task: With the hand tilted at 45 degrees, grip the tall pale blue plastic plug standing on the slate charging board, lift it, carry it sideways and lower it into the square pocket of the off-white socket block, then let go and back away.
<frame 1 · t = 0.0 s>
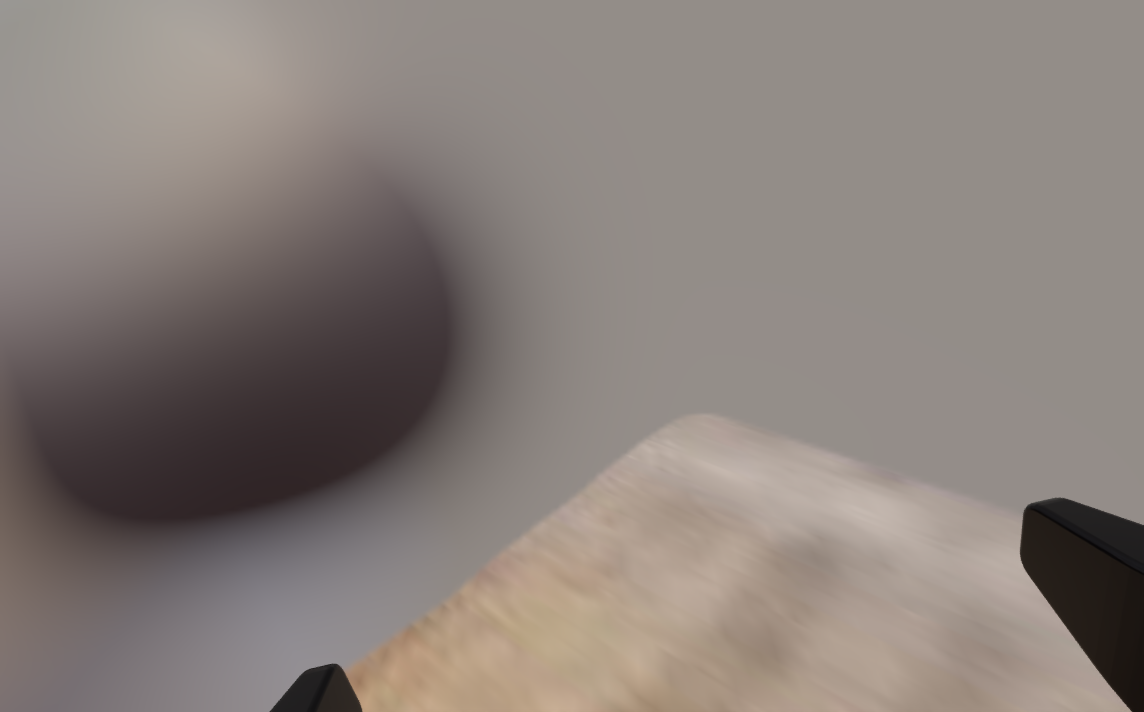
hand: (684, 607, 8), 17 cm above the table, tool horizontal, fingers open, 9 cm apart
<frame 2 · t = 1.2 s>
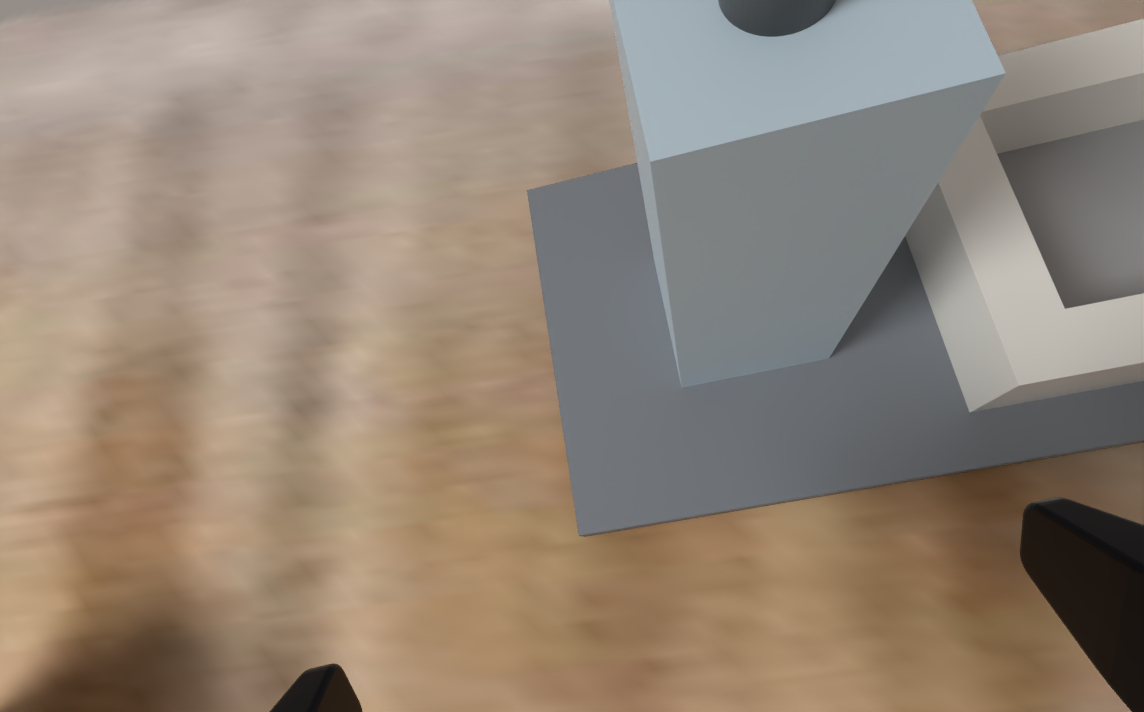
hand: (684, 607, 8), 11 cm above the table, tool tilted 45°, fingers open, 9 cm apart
charging board: (892, 285, 20), on the table
plug: (737, 307, 20), point 1 cm above the table, touching charging board
socket: (1078, 234, 19), resting on charging board
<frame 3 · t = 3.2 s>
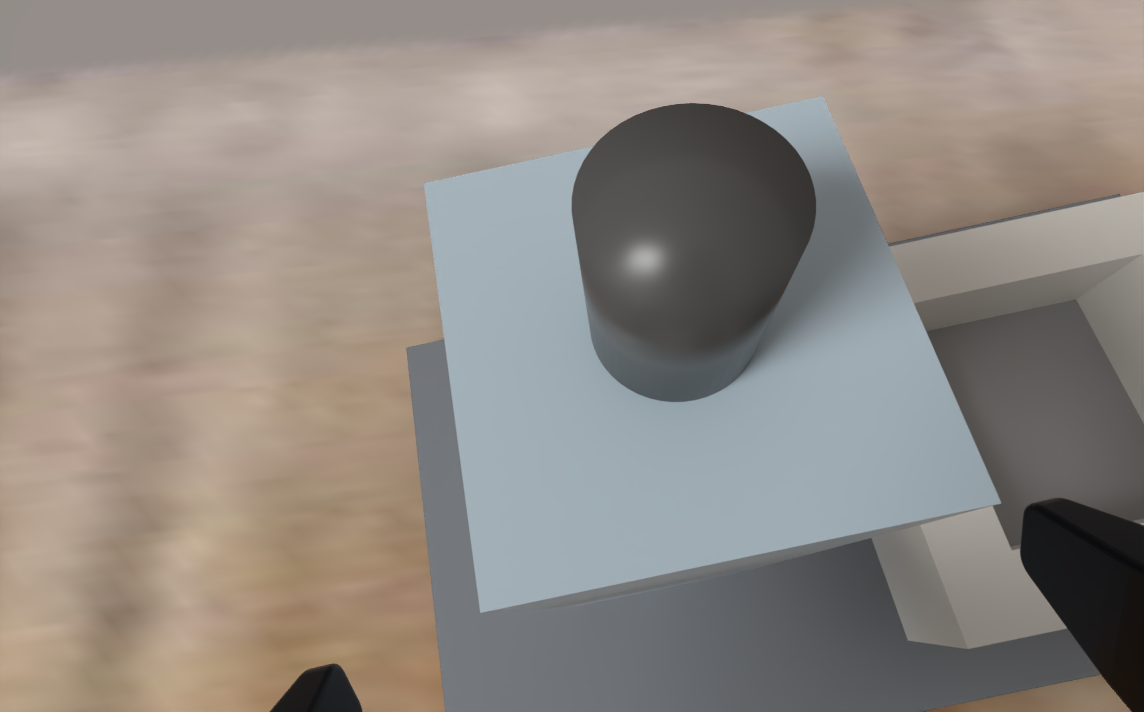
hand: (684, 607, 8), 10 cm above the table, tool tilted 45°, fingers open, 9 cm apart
charging board: (817, 471, 18), on the table
plug: (646, 502, 17), point 1 cm above the table, touching charging board
socket: (1008, 425, 17), resting on charging board
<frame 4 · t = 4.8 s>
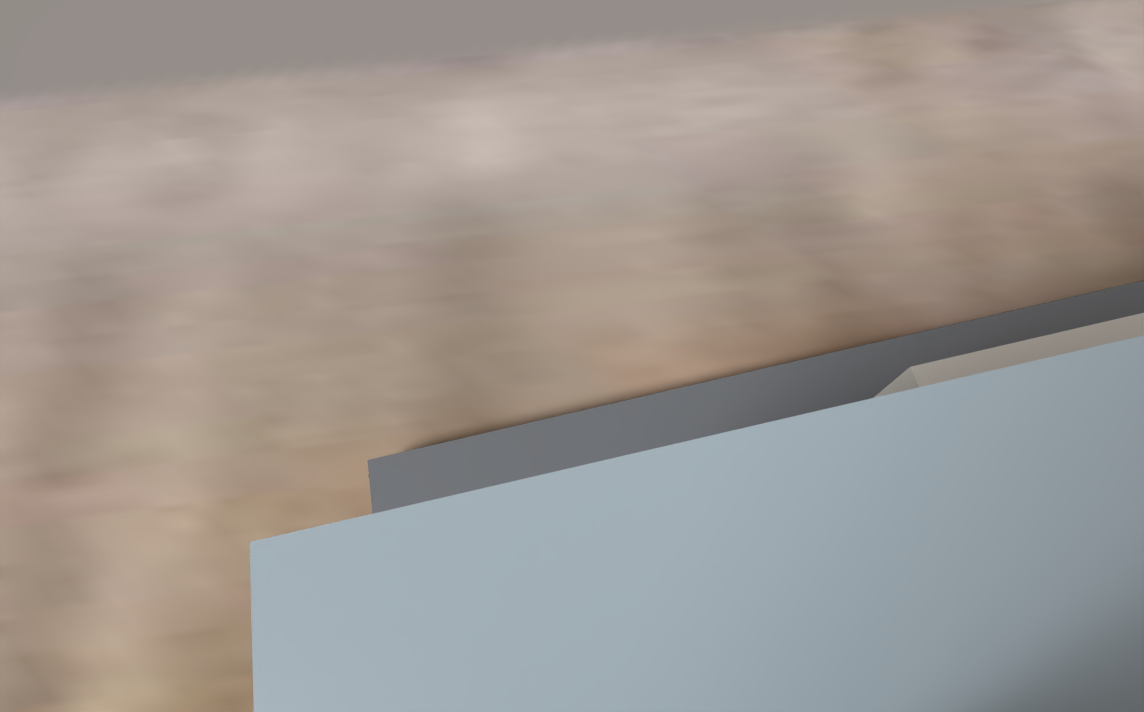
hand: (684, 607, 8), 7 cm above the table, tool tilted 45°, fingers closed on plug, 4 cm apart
charging board: (898, 621, 14), on the table
plug: (681, 676, 13), point 1 cm above the table, touching charging board, gripper
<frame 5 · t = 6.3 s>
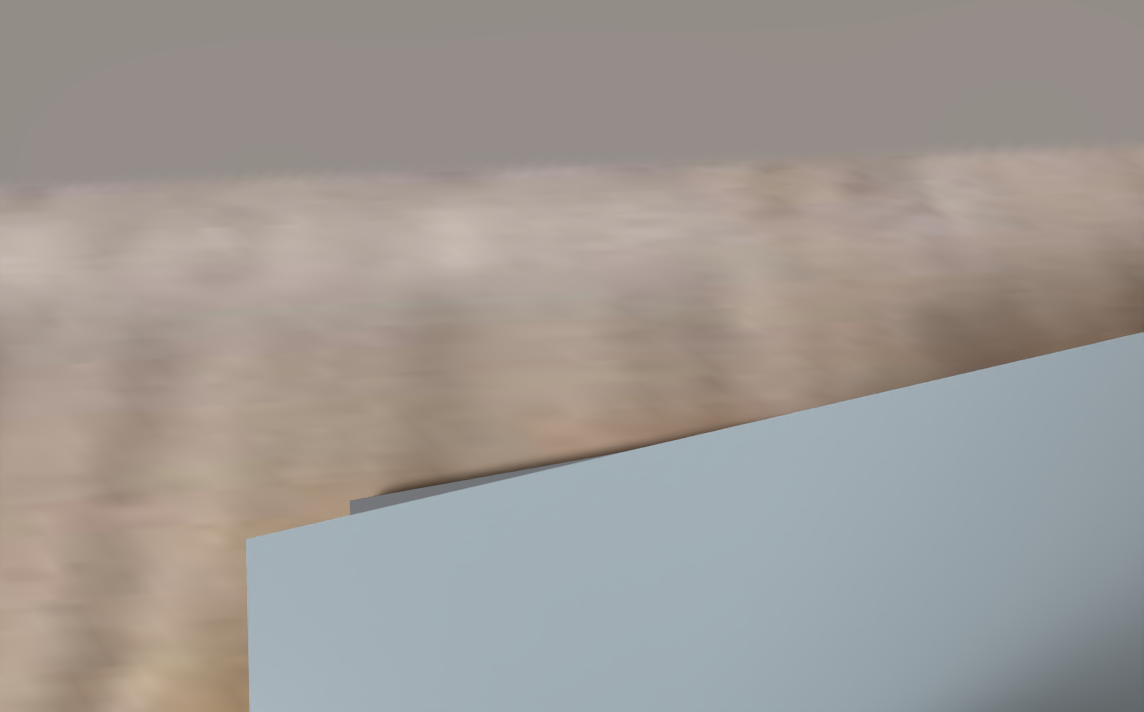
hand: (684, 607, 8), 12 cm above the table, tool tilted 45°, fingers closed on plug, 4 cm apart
charging board: (726, 640, 19), on the table
plug: (680, 676, 13), point 7 cm above the table, touching gripper
when the fingers open (8 cm above the table, at t = 8.1 s): plug stays where it is, resting on socket.
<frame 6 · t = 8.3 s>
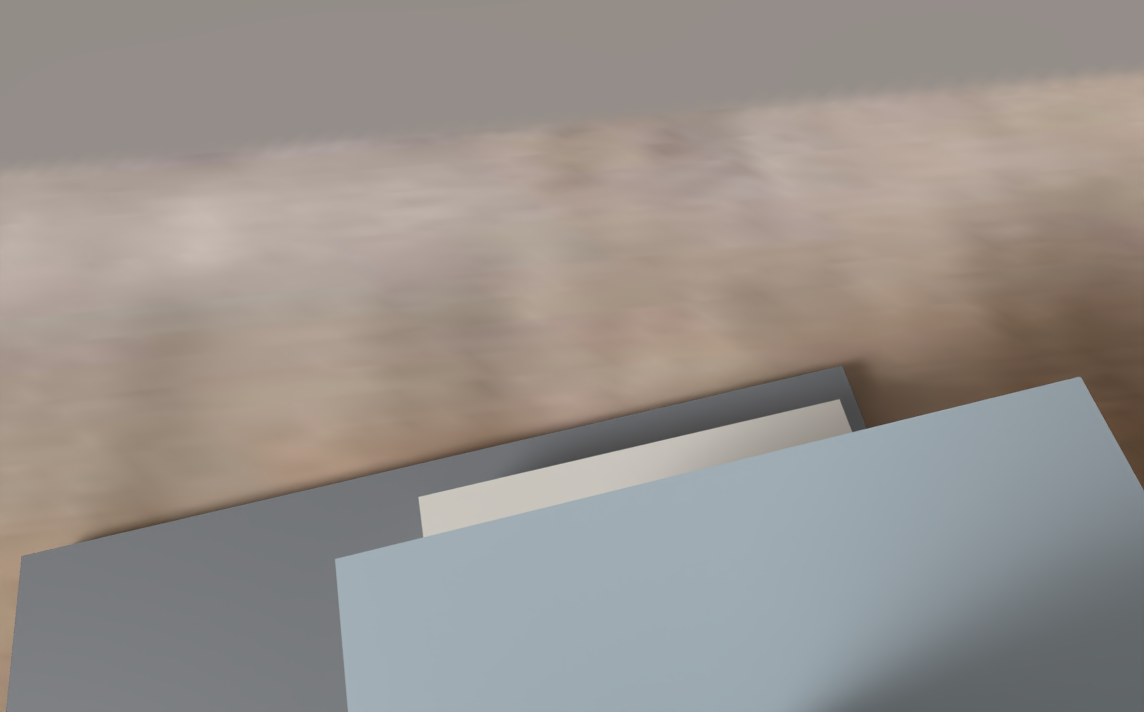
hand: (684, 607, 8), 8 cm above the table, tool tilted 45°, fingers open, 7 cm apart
charging board: (474, 710, 15), on the table
plug: (678, 669, 14), point 2 cm above the table, touching socket
socket: (677, 668, 15), resting on charging board
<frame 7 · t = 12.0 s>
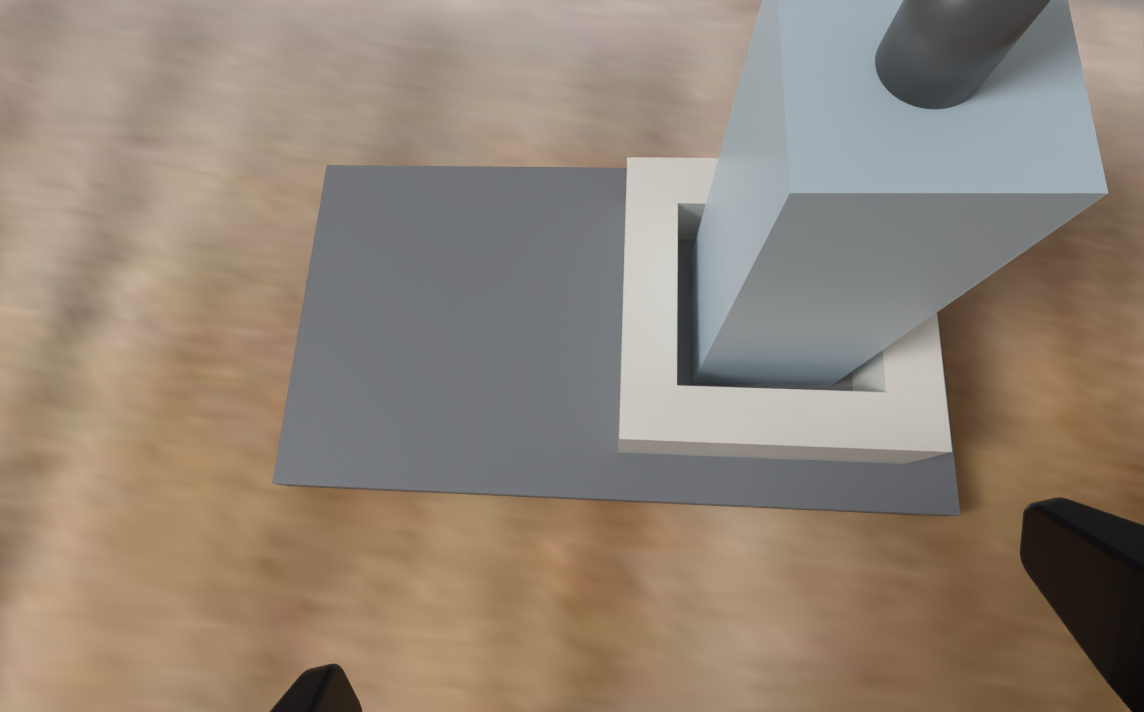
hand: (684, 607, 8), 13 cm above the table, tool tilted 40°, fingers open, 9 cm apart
charging board: (609, 330, 23), on the table
plug: (758, 319, 21), point 1 cm above the table, touching socket
socket: (755, 325, 22), resting on charging board
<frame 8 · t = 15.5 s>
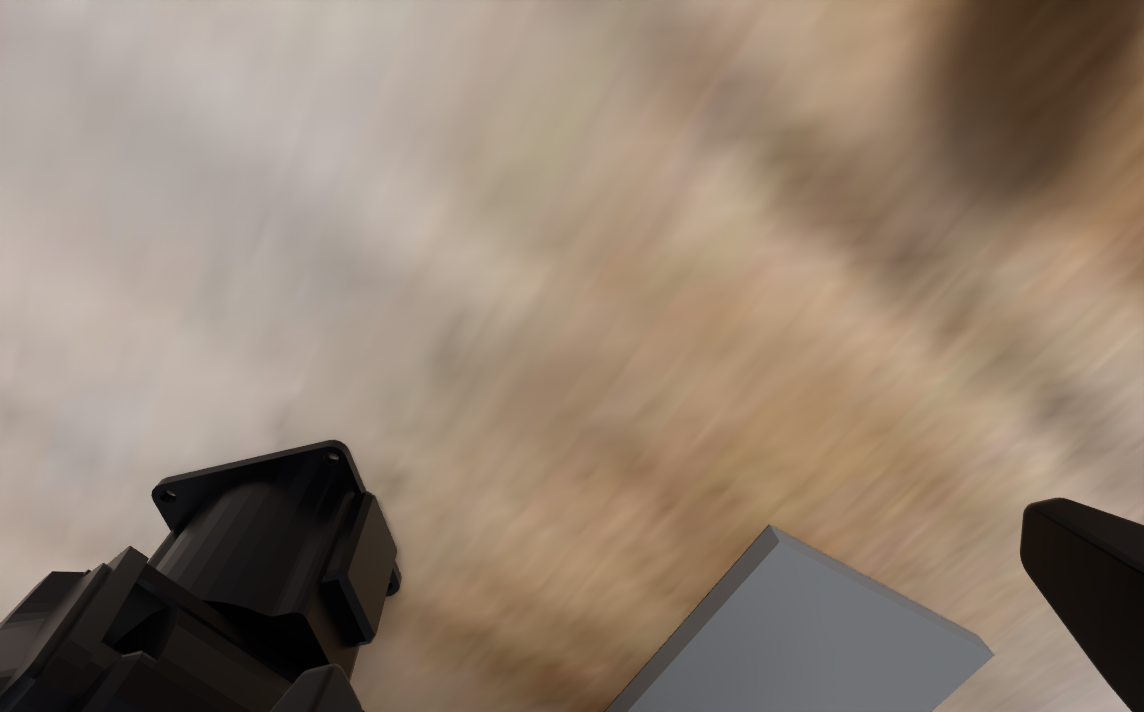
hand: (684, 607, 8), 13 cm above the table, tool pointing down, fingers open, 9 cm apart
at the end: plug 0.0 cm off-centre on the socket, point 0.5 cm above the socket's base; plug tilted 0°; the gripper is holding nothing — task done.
